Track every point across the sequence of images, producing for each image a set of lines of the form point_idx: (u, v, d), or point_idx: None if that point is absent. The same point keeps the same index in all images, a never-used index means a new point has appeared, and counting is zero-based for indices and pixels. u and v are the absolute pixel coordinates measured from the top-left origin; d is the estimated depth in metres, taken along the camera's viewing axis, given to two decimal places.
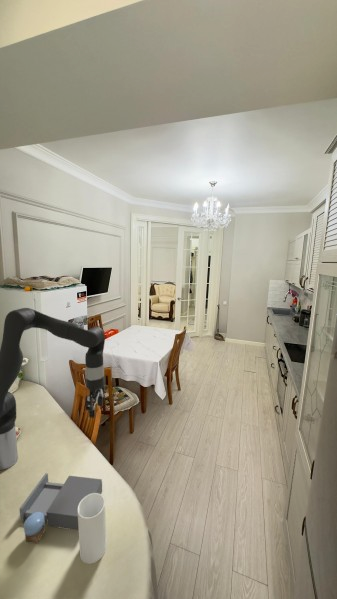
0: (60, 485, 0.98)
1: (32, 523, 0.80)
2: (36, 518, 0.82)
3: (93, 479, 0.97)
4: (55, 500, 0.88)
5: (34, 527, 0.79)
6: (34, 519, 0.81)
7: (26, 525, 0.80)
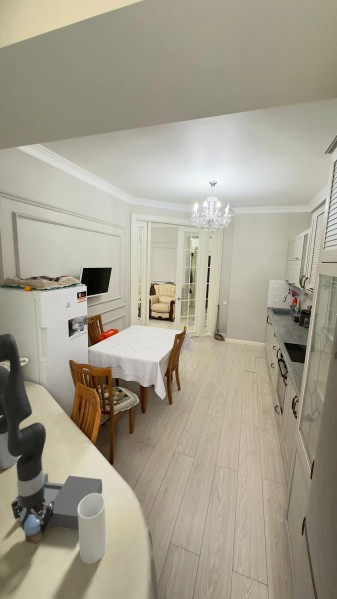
0: (60, 485, 0.98)
1: (32, 523, 0.80)
2: None
3: (93, 479, 0.97)
4: (55, 500, 0.88)
5: (34, 527, 0.79)
6: (34, 519, 0.81)
7: (26, 525, 0.80)
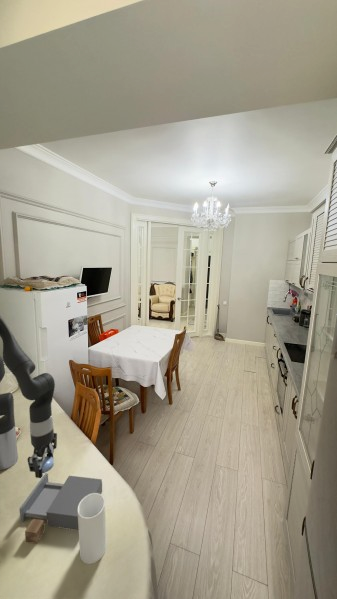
0: (60, 485, 0.98)
1: (46, 462, 0.90)
2: None
3: (93, 479, 0.97)
4: (55, 500, 0.88)
5: (51, 459, 0.92)
6: None
7: (45, 466, 0.89)
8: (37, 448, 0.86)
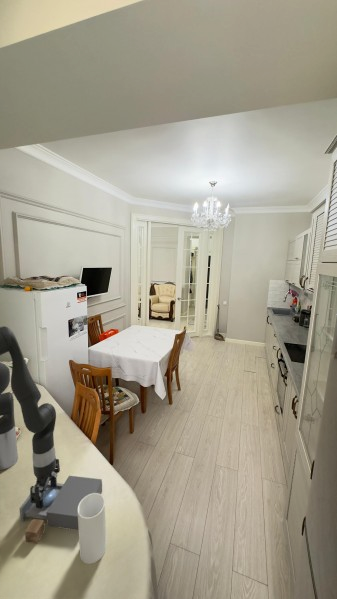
0: (60, 485, 0.98)
1: (48, 496, 0.92)
2: (45, 494, 0.93)
3: (93, 479, 0.97)
4: (55, 500, 0.88)
5: (53, 492, 0.93)
6: (45, 496, 0.92)
7: (48, 500, 0.91)
8: (40, 478, 0.87)
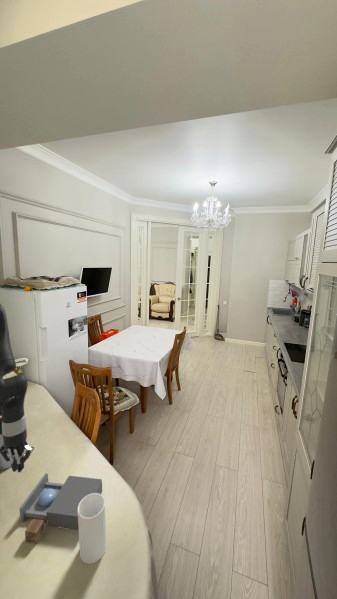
0: (60, 485, 0.98)
1: (48, 496, 0.92)
2: (45, 494, 0.93)
3: (93, 479, 0.97)
4: (55, 500, 0.88)
5: (53, 492, 0.94)
6: (45, 496, 0.92)
7: (48, 500, 0.91)
8: None
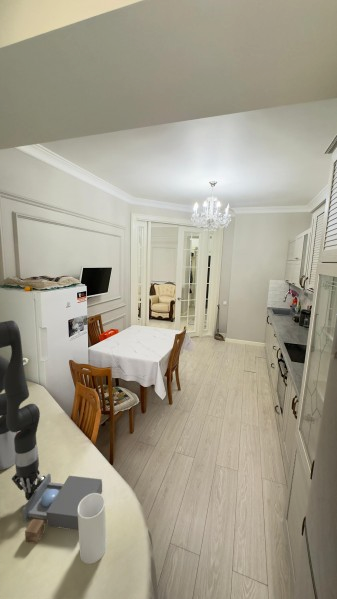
0: None
1: (51, 496, 0.92)
2: (48, 495, 0.93)
3: (93, 479, 0.97)
4: (55, 500, 0.88)
5: (56, 493, 0.93)
6: (48, 496, 0.92)
7: (51, 500, 0.90)
8: None
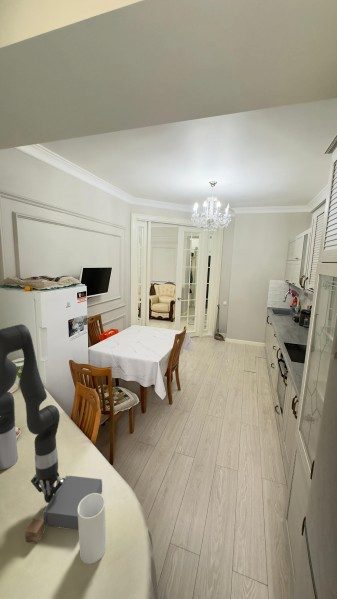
0: None
1: None
2: None
3: (93, 479, 0.97)
4: (55, 500, 0.88)
5: None
6: None
7: None
8: None
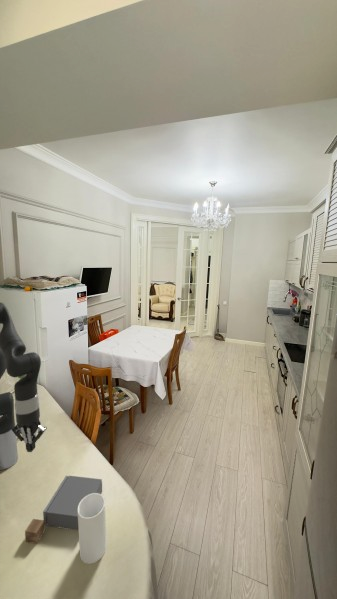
0: None
1: None
2: None
3: (93, 479, 0.97)
4: (55, 500, 0.88)
5: None
6: None
7: None
8: None
